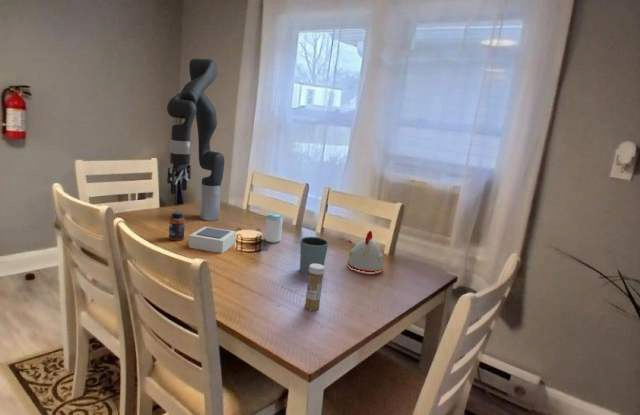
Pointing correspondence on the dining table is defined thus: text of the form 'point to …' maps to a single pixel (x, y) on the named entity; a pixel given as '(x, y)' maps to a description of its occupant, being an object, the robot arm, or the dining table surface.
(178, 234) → the supplement bottle
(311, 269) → the sprinkles bottle
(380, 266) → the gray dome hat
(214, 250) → the white and gray stand
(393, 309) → the dining table surface
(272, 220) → the can
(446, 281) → the dining table surface
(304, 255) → the gray plant pot
